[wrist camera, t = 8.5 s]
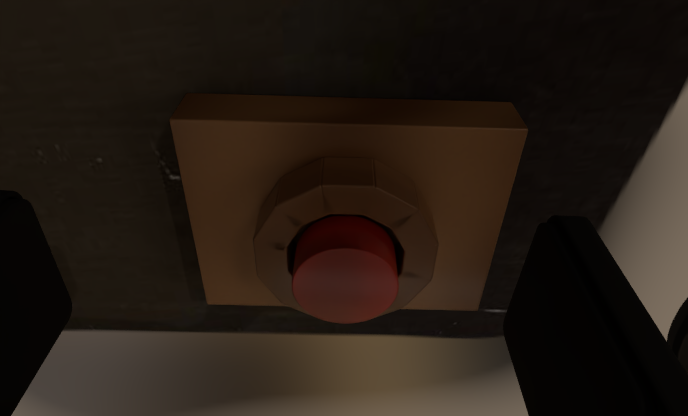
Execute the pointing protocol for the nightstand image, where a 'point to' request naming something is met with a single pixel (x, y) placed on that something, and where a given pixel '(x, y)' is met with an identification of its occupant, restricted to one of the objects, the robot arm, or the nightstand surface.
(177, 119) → the red push button box
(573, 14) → the nightstand surface
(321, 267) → the button
